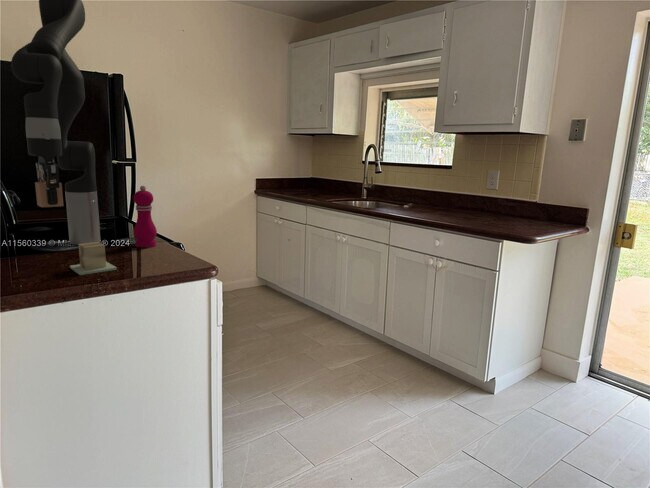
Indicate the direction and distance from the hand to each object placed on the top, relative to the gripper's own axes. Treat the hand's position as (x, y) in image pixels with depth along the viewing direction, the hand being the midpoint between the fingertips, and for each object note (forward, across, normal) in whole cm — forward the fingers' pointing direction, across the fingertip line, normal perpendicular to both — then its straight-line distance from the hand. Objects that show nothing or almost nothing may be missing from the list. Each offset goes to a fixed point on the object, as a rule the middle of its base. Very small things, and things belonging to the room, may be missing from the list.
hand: (50, 202), depth 117 cm
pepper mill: (+17, -11, +29) cm, 36 cm away
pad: (+17, +8, +7) cm, 20 cm away
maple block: (+17, +8, +7) cm, 20 cm away
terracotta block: (+1, 0, 0) cm, 1 cm away
